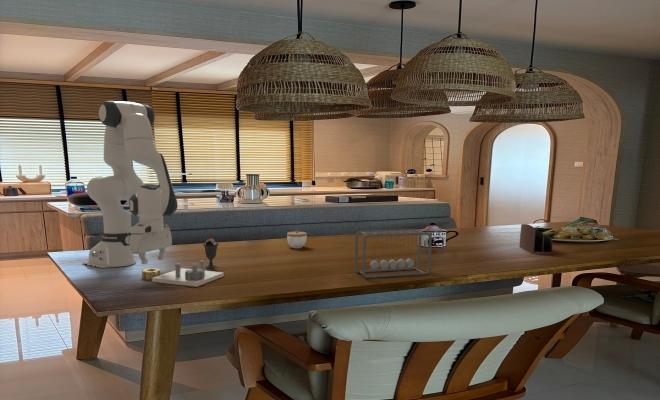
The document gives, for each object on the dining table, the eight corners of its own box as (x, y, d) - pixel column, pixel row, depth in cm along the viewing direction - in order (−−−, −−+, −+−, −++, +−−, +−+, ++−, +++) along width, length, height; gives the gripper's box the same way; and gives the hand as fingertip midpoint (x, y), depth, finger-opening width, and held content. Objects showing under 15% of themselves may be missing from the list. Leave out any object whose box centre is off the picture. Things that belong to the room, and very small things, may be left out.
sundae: (212, 264, 215) (212, 231, 214) (222, 267, 211) (221, 232, 209) (199, 267, 210) (199, 232, 209) (209, 269, 205) (209, 234, 204)
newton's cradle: (363, 278, 192) (363, 234, 191) (354, 273, 202) (354, 230, 201) (431, 274, 201) (432, 232, 200) (419, 269, 211) (420, 228, 210)
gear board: (152, 281, 184) (151, 263, 184) (181, 271, 201) (181, 255, 200) (196, 286, 177) (196, 267, 177) (223, 276, 194) (223, 258, 194)
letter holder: (532, 254, 249) (534, 227, 248) (519, 247, 269) (520, 222, 268) (552, 254, 249) (553, 227, 248) (537, 247, 269) (538, 222, 268)
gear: (139, 279, 187) (139, 272, 186) (145, 275, 194) (145, 268, 193) (157, 279, 187) (157, 272, 187) (163, 275, 194) (162, 268, 194)
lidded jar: (283, 248, 258) (283, 230, 257) (291, 245, 268) (291, 228, 268) (302, 249, 255) (302, 231, 254) (309, 246, 265) (309, 229, 264)
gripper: (162, 223, 199) (163, 256, 200) (126, 229, 180) (127, 266, 181) (175, 223, 197) (176, 257, 198) (140, 229, 178) (141, 267, 179)
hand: (152, 261), depth 189 cm, fingers open, 8 cm apart
